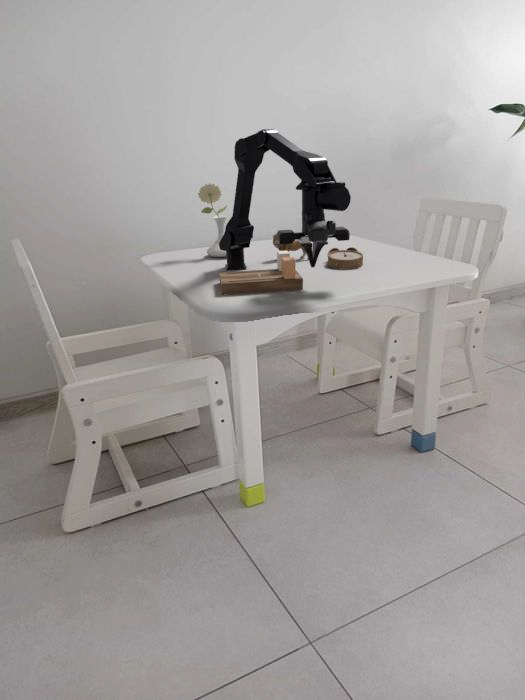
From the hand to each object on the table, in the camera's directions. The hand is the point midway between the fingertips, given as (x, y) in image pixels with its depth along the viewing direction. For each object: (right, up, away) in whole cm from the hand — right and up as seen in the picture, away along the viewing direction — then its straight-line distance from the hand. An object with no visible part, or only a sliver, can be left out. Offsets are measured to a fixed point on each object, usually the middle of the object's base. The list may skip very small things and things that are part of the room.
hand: (312, 267), depth 138 cm
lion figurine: (-3, +8, +35) cm, 36 cm away
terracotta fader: (-6, -3, 0) cm, 7 cm away
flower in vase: (-29, +11, +44) cm, 54 cm away
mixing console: (-14, -5, +5) cm, 16 cm away
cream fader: (-8, +1, +8) cm, 11 cm away
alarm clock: (+13, +5, +27) cm, 30 cm away
